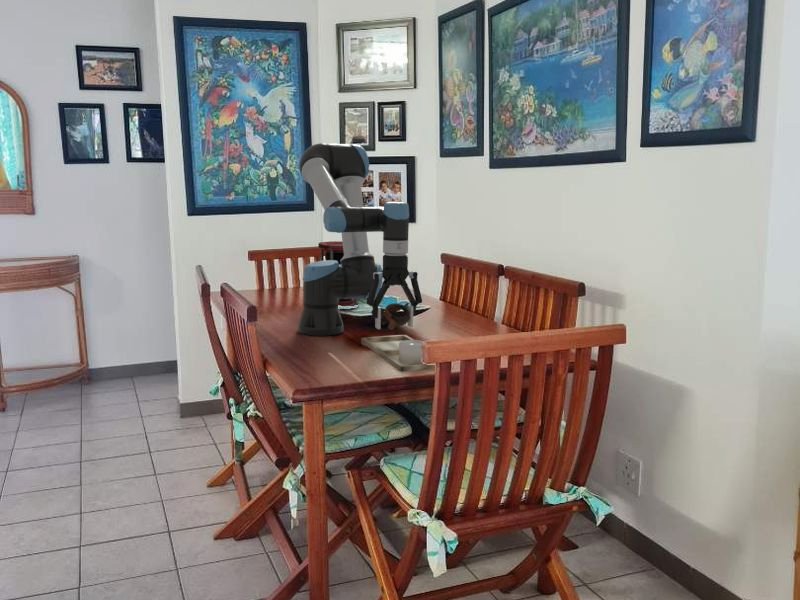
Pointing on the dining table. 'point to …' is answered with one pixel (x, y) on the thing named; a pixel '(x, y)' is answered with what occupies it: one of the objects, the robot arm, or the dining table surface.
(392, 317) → the dark brown looped part
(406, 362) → the grey short cylinder
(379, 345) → the tray
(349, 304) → the hourglass
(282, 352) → the dining table surface
